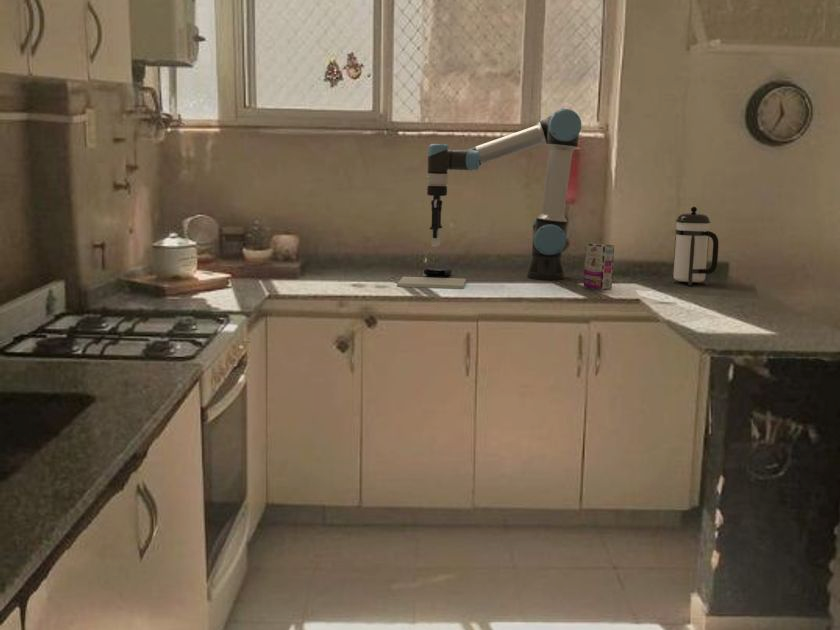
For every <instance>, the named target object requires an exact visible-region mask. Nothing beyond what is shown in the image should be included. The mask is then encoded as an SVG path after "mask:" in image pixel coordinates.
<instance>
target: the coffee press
mask: <svg viewBox="0 0 840 630" xmlns="http://www.w3.org/2000/svg"><path fill="white" fill-rule="evenodd" d="M690 211H691V212H690V213H687V212H686V213H681V214H679V215H678V216H677V217H676V219H675V223H676V228H675V234H674V250H673V251H674V253H673V265H672V271H673V273H672V276H671V278H670V279H669V280H668V281H669V283H671V282H670V281H671V280H672V279H674V280H673V281H672V283H674V282H686V283H687V286H688V287H693V283H703V284H704V285H707V286H708V285H709V283H710V282H709V281H708V279H707V275H708V274H709V275H710V274H713V273H714V272H715V271H716V269H717V266H718V261H719V260H718V257H719V238H718V236H717V235H716V233H714V232H713V231H710V224H711V220H710V217H709V216H708V215H706V214H703V213H697V211H698V208H697V207H696V206H692V207H691V208H690ZM709 238H710V239H711V240H712V243H713V244H712V254H711V256H712V257H711V266H710V267H709V269H707V267H708V255H709V243H710V242H709V241H710V239H709ZM705 280H707V283H705V282H704V281H705Z"/></svg>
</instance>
